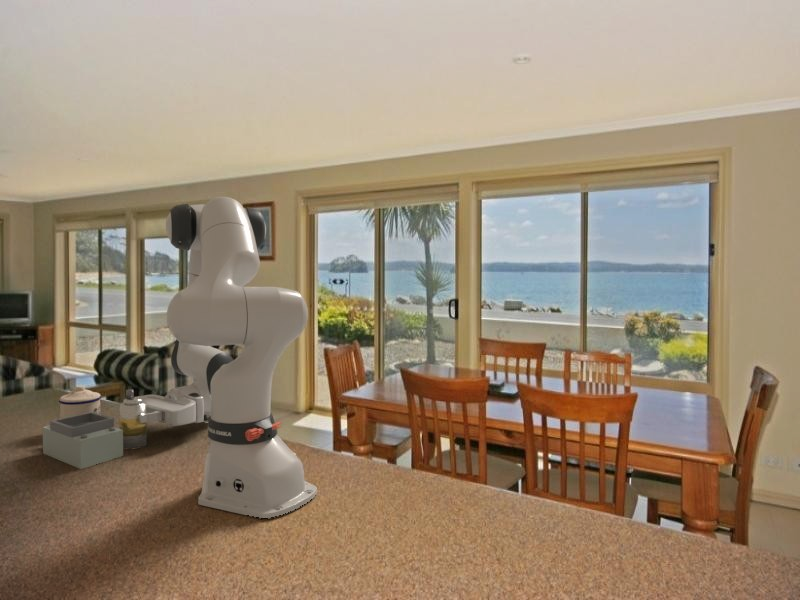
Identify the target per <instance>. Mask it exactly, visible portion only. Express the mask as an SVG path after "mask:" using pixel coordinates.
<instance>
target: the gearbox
mask: <svg viewBox="0 0 800 600" xmlns="http://www.w3.org/2000/svg"><path fill="white" fill-rule="evenodd" d="M49 423H50V424H49V425H45V426H43V427H42V452H43V453H42V454H44V455H46V456H48V457H51V458H53V459H56V460H58V461H60V462H63V463H65V464H67V465H70V466H72V467H75V468H77V469H79V470H83V469H87V468H89V467H93V466H96V464H97V465H99V463H100V464H102V462H103V463H106V462H109V460H110V461H113V460H115V459H114V458H116V459H118V457H119V458H122V457H121V456H123V457H124V449H123V430H122V429H120V428H118V427H116V426H115V419H114V417H111V416H108V415H105V414H101V413H100V414H98V413H94V412H89V413H84V414H80V415H75V416H71V417H66V418H62V419H60V418H59V419H54V420H53V419H52V420H50V421H49ZM112 459H113V460H112Z"/></svg>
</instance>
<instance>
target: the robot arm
mask: <svg viewBox="0 0 800 600" xmlns="http://www.w3.org/2000/svg"><path fill="white" fill-rule="evenodd" d="M165 221H166V222H165V231H166V234H167V235H166V236H167V237H168V239H169V241H170V244H171V245H172V247H174V248H175V249H179V250H183V251H190V253H189V261H188V262H189V264H188V283H187V286H186V287H184V288H183V289H181V290H179V291H178V292H176V294H175V295H173V297H172V299H171V300H170V302H169V304H168V306H167V311H166V323H167V327H168V329H169V331H170V333H171V334H172V336H173V337H174V338H175V344H174V345H173V348H172V352H171V356H170V362H171V367H172V368H173V370H174V371H175V372H176V373H177V374H179V375H181V376H185V377H187V378H191V379H193V382H192V383H190V384H188V385H183V386H178V387H174V388H171V389H170V390H169V391H168V392H167V394H166V395H165V396H162V395H159V394H145V395H139V396H137V397H141V398H143V401H146V414H145V413H143V414H139V415H137V422H140V423H145V422H147V423H149V422H150V423H153V422H159V423H162V424H166V425H169V426H175V427H177V426H183V425H188V424H198V423H202V422H204V419H205V418H204V417H205V415H206V416H208V415H209V417H208V418H207V419H208V420H207V437H208V438H209V446H208V449H207V451H206V455H205V460H204V470H203V479H202V486H201V487H202V488H201V492H200V495H199V496H198V497H197V498H198V499H197V504H198V505H199V506H203V507H206V508H207V507H208V508H212V509H217V510H221V511H226V512H229V513H235V514H240V515H242V516H243V515H244V516H247V515H249V516H248V517H252V516H254V517H253V518H256V517H259V518H258V519H261V518H268V519H272V518H271V517H274V516H277V517H280V516H279V515H281V516H284V515H286V514H288V512H289V513H291V512H294V511H296V510H298V509H299V508H301V507H303V506H305V505H306V504H308V503H309V502H310V500H311V499H312V500H313V499H314V498H315V497H316V496H317V494H318V487H317V486H316V485H314V484H313V483H310V482H308V481H306V480H305V469H304V465H303V462H302V460H301V459H300V458H299V457H298V456H297V454H296V453H295V452H294V451H292V450H291V449H290V448H289V446H288V445H287V444H286V443H285V442H284V441H283V440H282V439H281V438H280V436H279V435H278V429H279V428H282V425H281V423H282V421H278V422H276V421H275V419H274V415H273V413H272V412H271V406H272V405H271V401H272V399H271V398H272V397H271V396H272V384H273V376H274V372H275V370H276V369H275V368H276V366H277V364H278V362H279V360H280V358H281V356H282V354H283V353H284V351H285V350H286V349H287V348H288V347H289V346H290V344H292V343H293V341H295V340H296V339H297V338H299V337H300V336H301V335H302V334H303V333H304V331H305V329H306V327H307V325H308V321H309V308H308V306H307V305H308V304H307V302H306V300H305V298H304V297H303V296H302V294H301V293H300V292H299V291H298V290H294V289H290V288H285V287H280V286H279V287H278V286H246V285H247V284H249V283H251V281H252V280H253V279H255V277H256V275H257V274H258V272H259V270H260V265H261V261H260V255H259V251H258V250H259V249H260V248H261V247H262V246H263V245H264V243H265V239H266V235H267V226H266V225H267V224H266V221H265V218H264V215H263V214H262V212H261V211H260V210H258V209H256V208H252V207H247V206H246V207H245V206H243V205H242V204H241V202H239V201H238V200H236V199H234V198H232V197H229V196H217V197H214V198H211V199H209V200H208V201H207V202H206V203H201V204H188V203H183V204H178V205H174V206H173V207H172V208H170V209H169V213H168V215H167V217H166V220H165ZM232 345H243V346H242V351H241V352H240V353H239V355H238V356H237V357H236V358H235V359H234V358H233V357H232V355H230V354H229V353H227V352H226V351H223V350H221V349H218V348H215V347H214V346H232ZM118 412H119V415H118V416H119V417H120V410H119V411H118ZM315 495H316V496H315ZM312 500H311V501H312ZM307 502H308V503H307ZM304 504H305V505H304ZM302 505H303V506H302ZM300 506H301V507H300ZM295 509H296V510H295ZM290 511H291V512H290ZM285 513H286V514H285ZM283 514H284V515H283ZM274 518H275V517H274Z"/></svg>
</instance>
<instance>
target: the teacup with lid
mask: <svg viewBox="0 0 800 600" xmlns="http://www.w3.org/2000/svg"><path fill="white" fill-rule="evenodd" d="M101 399H102V396H101V393H99V392H95V391H92V390H90V389H86V387H85V385H77V386H76V387H75V390H72V391H70V392H69V393H68V394H64V395H62V396H61V397H60V398H59V401H58V402H59V407H60V409H59V410H60V411H59V413H60V415H59V416H60V418H59V419H62V418H66V417H71V416H75V415H80V414H84V413H89V412H94V413H98V414H101Z"/></svg>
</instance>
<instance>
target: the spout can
mask: <svg viewBox="0 0 800 600" xmlns="http://www.w3.org/2000/svg"><path fill="white" fill-rule="evenodd" d="M134 394H135V391H134V389H133V388H131V389H125V395H126V396H125V398H124V399H123V402H121V403H119V411H120V416H119V429H122V430H123V448H136V449H139V448H138V447H140V448H143V447H146V445H147V443H148V442H147V441H148V440H147V439H148V438H147V437H148V436H147V435H148V424H147V423H148V422H145V423H140V422H137V415H139V414H143V413H145V414H146V401H143V398H141V397H138V396H135V395H134ZM142 446H143V447H142Z"/></svg>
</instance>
